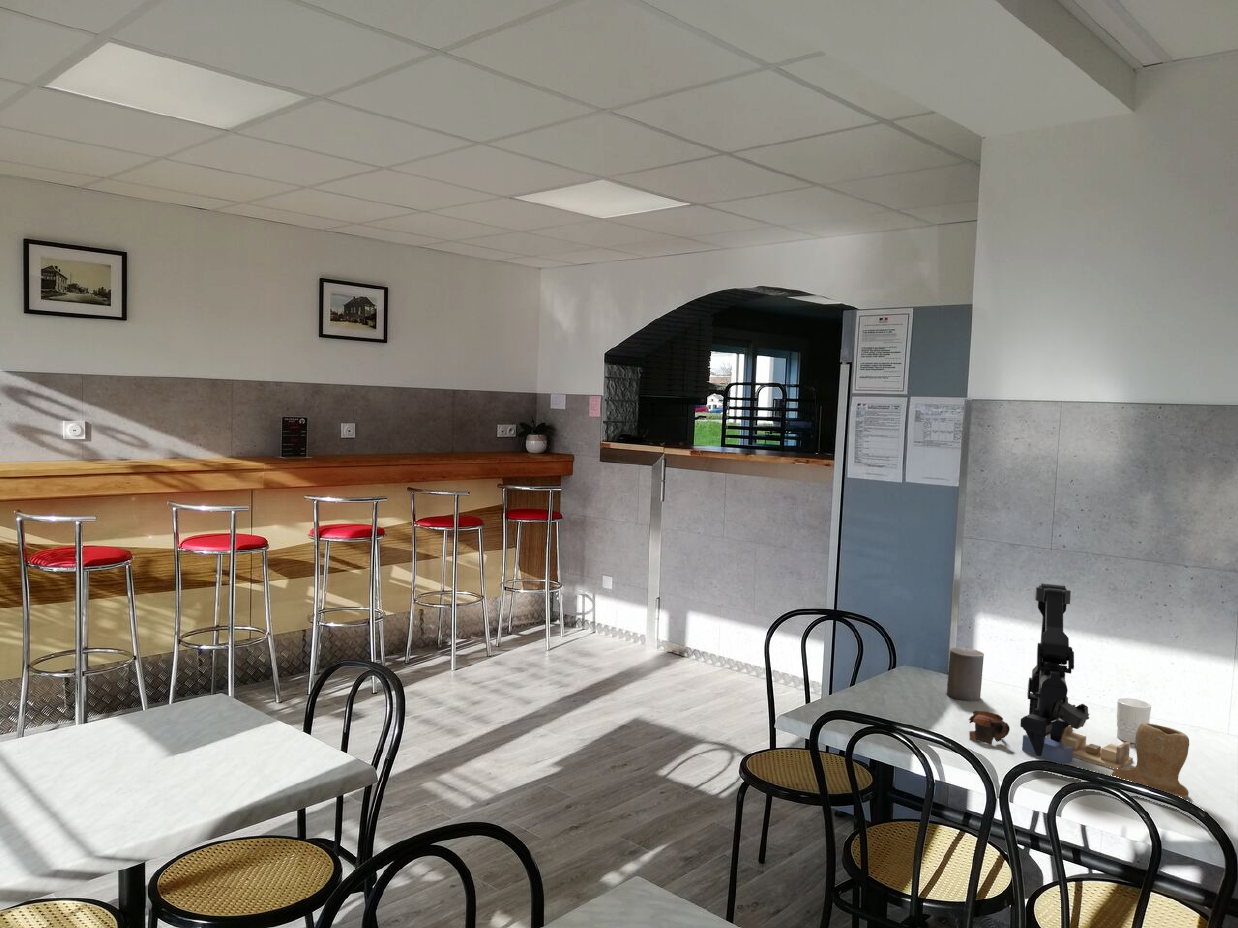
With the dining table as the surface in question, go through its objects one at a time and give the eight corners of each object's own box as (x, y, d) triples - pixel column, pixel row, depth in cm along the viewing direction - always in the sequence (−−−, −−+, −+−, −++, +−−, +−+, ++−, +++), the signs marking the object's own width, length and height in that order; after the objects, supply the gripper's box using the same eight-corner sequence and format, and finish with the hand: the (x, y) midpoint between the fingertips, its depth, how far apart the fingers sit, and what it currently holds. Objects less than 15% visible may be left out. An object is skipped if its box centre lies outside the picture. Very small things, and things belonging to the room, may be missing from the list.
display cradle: (1116, 769, 223) (1117, 749, 222) (1053, 750, 234) (1055, 731, 234) (1132, 760, 229) (1134, 741, 229) (1070, 742, 240) (1072, 724, 240)
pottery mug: (957, 738, 242) (962, 707, 245) (980, 750, 246) (985, 719, 249) (997, 741, 232) (1001, 709, 235) (1020, 753, 236) (1024, 721, 239)
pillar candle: (941, 695, 277) (945, 646, 276) (953, 688, 285) (957, 641, 284) (973, 703, 271) (977, 653, 270) (985, 696, 279) (989, 647, 277)
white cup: (1153, 746, 241) (1156, 708, 240) (1120, 742, 242) (1123, 705, 242) (1142, 736, 248) (1145, 699, 248) (1110, 732, 250) (1113, 696, 249)
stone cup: (1190, 790, 212) (1195, 726, 211) (1185, 807, 202) (1191, 740, 201) (1116, 773, 221) (1121, 711, 220) (1108, 788, 211) (1113, 724, 210)
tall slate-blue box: (1022, 750, 234) (1023, 735, 234) (1031, 748, 236) (1032, 732, 236) (1062, 765, 225) (1063, 749, 224) (1072, 763, 227) (1073, 747, 226)
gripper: (1068, 705, 217) (1063, 770, 218) (1100, 692, 229) (1096, 753, 230) (1021, 693, 225) (1017, 755, 226) (1055, 681, 238) (1051, 740, 239)
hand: (1047, 751), depth 230 cm, fingers open, 9 cm apart
